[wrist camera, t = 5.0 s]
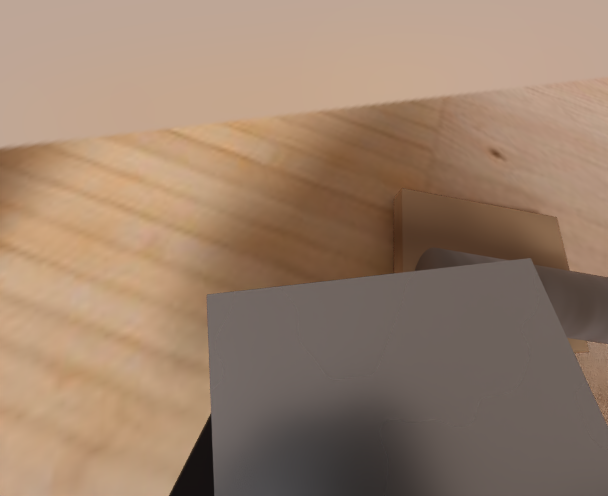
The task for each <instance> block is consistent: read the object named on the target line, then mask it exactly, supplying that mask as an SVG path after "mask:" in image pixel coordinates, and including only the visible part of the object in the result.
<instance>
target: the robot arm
mask: <svg viewBox="0 0 608 496" xmlns="http://www.w3.org/2000/svg"><path fill="white" fill-rule="evenodd" d="M169 496H214V472H213V446H212V420H211V414H210V416H209V418H208V420H207V422H206V424H205V426H204V428H203V430H202V432H201V434H200V436H199V438H198V440H197V442H196V444H195V446H194V448H193V449H192V451H191V453H190V455H189V457H188V459H187V461H186V463H185V465H184V467H183V469H182V471H181V473H180V475H179V477H178V479H177V481H176V483H175V485H174V487H173V489H172V491H171V493H170V495H169Z"/></svg>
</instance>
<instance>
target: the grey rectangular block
mask: <svg viewBox="0 0 608 496" xmlns="http://www.w3.org/2000/svg"><path fill="white" fill-rule="evenodd" d="M207 316H208V342H209V368H210V394H211V420H212V446H213V472H214V496H608V426H607V424H606V422H605V420H604V418H603V415H602V413H601V411H600V409H599V407H598V404H597V402H596V400H595V398H594V396H593V394H592V391H591V389H590V387H589V385H588V383H587V380H586V378H585V376H584V374H583V372H582V369H581V367H580V365H579V363H578V361H577V358H576V356H575V354H574V352H573V350H572V348H571V345H570V343H569V341H568V339H567V337H566V334H565V332H564V330H563V328H562V326H561V323H560V321H559V319H558V317H557V315H556V313H555V310H554V308H553V306H552V304H551V302H550V299H549V297H548V295H547V293H546V291H545V288H544V286H543V284H542V282H541V280H540V277H539V275H538V273H537V271H536V269H535V267H534V264H533V262H532V260H531V258H527V259H518V260H509V261H500V262H491V263H482V264H474V265H465V266H456V267H447V268H438V269H429V270H420V271H412V272H403V273H394V274H385V275H376V276H367V277H359V278H350V279H341V280H332V281H323V282H314V283H305V284H297V285H288V286H279V287H270V288H261V289H252V290H244V291H235V292H226V293H217V294H208V295H207Z"/></svg>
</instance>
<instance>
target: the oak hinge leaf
mask: <svg viewBox="0 0 608 496" xmlns="http://www.w3.org/2000/svg"><path fill="white" fill-rule="evenodd" d="M527 258H531V260H532V262H533V264H534V267H535V269H536V271H537V273H538V275H539V277H540V280H541V282H542V284H543V286H544V288H545V291H546V293H547V295H548V297H549V299H550V302H551V304H552V306H553V308H554V310H555V313H556V315H557V317H558V319H559V321H560V323H561V326H562V328H563V330H564V332H565V334H566V337H567V339H568V341H569V343H570V345H571V348H572V350H573V352H574V353H583V352H589V349H588V345H587V341H591V342H598V343H605V344H608V277H602V276H596V275H591V274H585V273H579V272H573V271H570V270H569V266H568V262H567V258H566V254H565V250H564V245H563V241H562V237H561V233H560V229H559V225H558V220H557V217H553V216H548V215H543V214H537V213H532V212H527V211H521V210H516V209H511V208H505V207H500V206H495V205H489V204H484V203H479V202H474V201H468V200H463V199H458V198H452V197H447V196H442V195H436V194H431V193H426V192H420V191H415V190H410V189H404V188H402V189H401V190H400V191H399V193H398V194H397V195H396V197H395V198H394V273H403V272H412V271H420V270H429V269H438V268H447V267H456V266H465V265H474V264H482V263H491V262H500V261H509V260H518V259H527Z"/></svg>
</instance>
